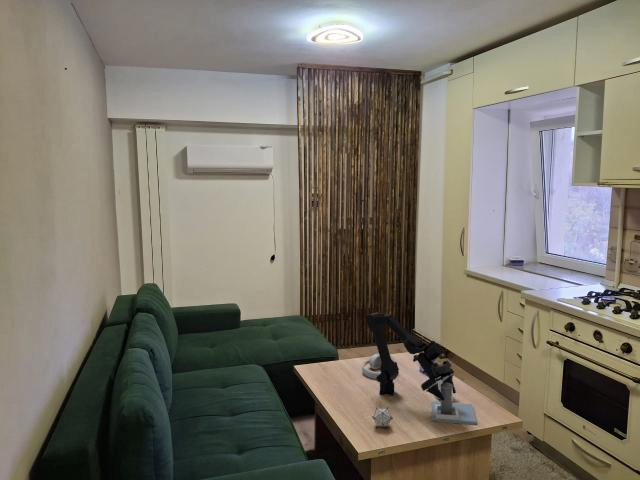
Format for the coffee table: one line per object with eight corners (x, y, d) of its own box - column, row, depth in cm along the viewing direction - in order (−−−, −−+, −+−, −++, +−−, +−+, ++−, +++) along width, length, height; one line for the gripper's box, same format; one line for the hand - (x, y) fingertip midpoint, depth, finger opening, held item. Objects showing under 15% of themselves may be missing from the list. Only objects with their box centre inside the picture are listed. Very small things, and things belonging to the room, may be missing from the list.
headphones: (369, 361, 266) (358, 380, 248) (369, 349, 264) (357, 367, 246) (401, 366, 258) (392, 386, 241) (401, 353, 256) (391, 372, 239)
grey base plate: (432, 420, 201) (432, 415, 201) (431, 403, 217) (431, 397, 217) (476, 424, 198) (476, 418, 198) (472, 406, 213) (472, 400, 213)
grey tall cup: (437, 413, 205) (438, 385, 203) (444, 409, 209) (444, 381, 207) (448, 417, 201) (449, 389, 200) (455, 413, 205) (455, 385, 203)
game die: (384, 437, 196) (386, 426, 189) (367, 425, 200) (368, 414, 193) (395, 420, 201) (397, 409, 194) (378, 409, 205) (379, 398, 198)
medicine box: (419, 371, 253) (419, 356, 252) (425, 370, 255) (426, 354, 254) (428, 377, 246) (428, 361, 245) (435, 375, 248) (435, 359, 246)
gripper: (427, 362, 198) (450, 395, 192) (450, 350, 211) (472, 381, 204) (411, 374, 205) (433, 407, 198) (435, 362, 218) (456, 392, 211)
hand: (449, 396), depth 203 cm, fingers open, 9 cm apart
